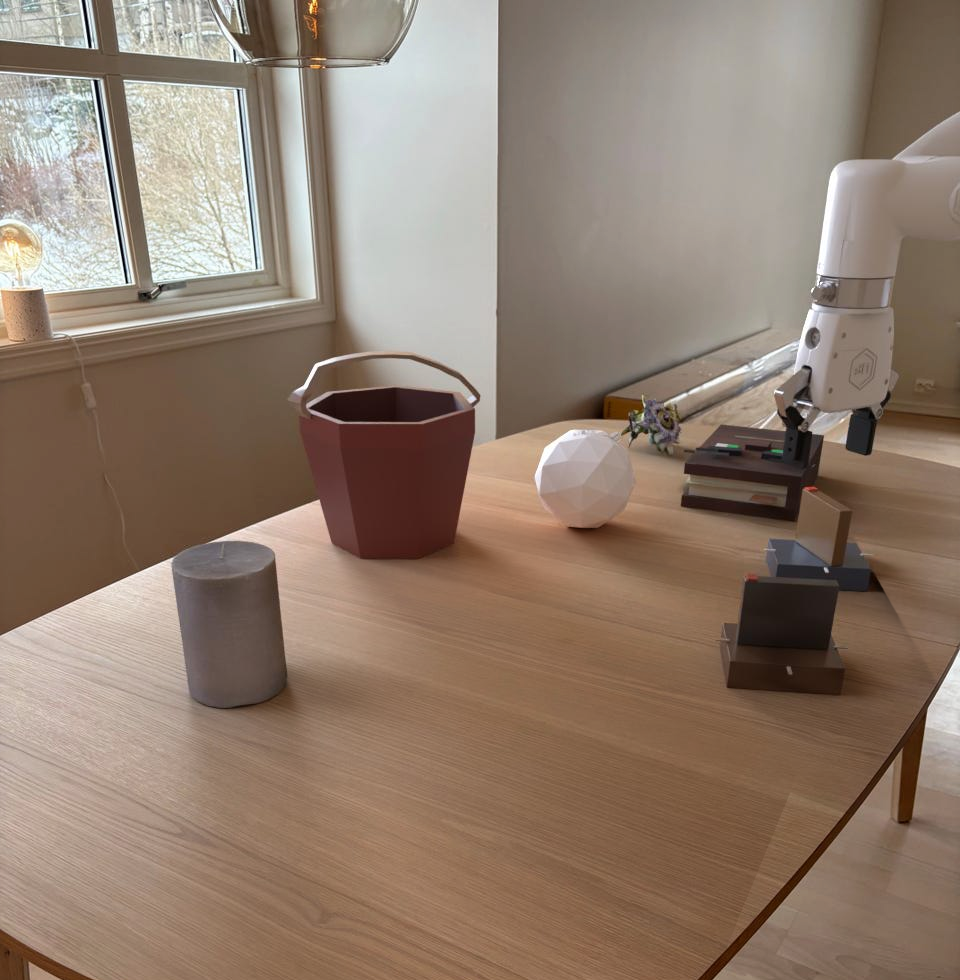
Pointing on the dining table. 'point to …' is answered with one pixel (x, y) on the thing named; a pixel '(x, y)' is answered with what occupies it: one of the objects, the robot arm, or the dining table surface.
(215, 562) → the pillar candle
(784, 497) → the decorative book
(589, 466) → the geodesic sphere
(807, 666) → the stand near
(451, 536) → the bucket
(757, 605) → the frame near
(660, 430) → the passion flower
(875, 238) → the robot arm
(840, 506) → the frame far
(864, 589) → the stand far
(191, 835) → the dining table surface
